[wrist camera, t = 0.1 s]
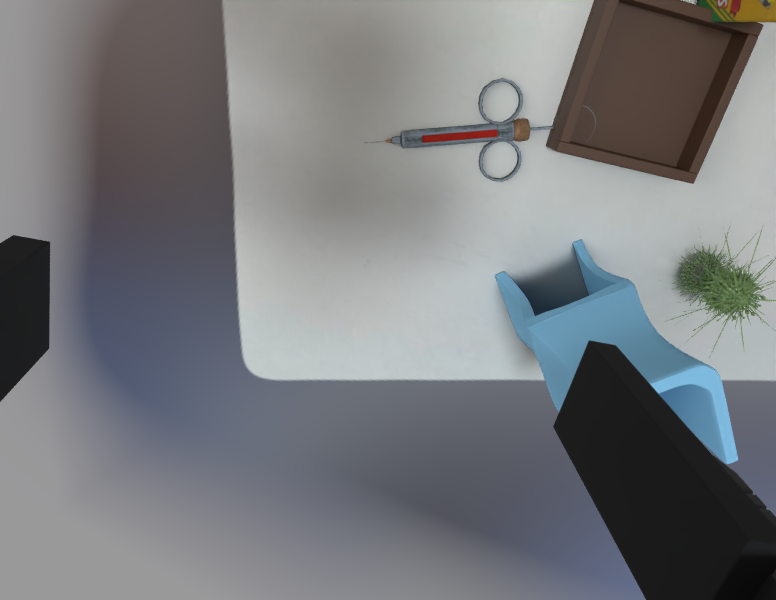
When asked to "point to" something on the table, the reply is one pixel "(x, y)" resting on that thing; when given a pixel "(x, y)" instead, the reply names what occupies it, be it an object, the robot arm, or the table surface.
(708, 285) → the cactus
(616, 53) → the tray
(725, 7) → the crayon box
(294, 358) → the table surface
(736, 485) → the robot arm
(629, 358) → the light blue hollow piece
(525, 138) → the syringe
